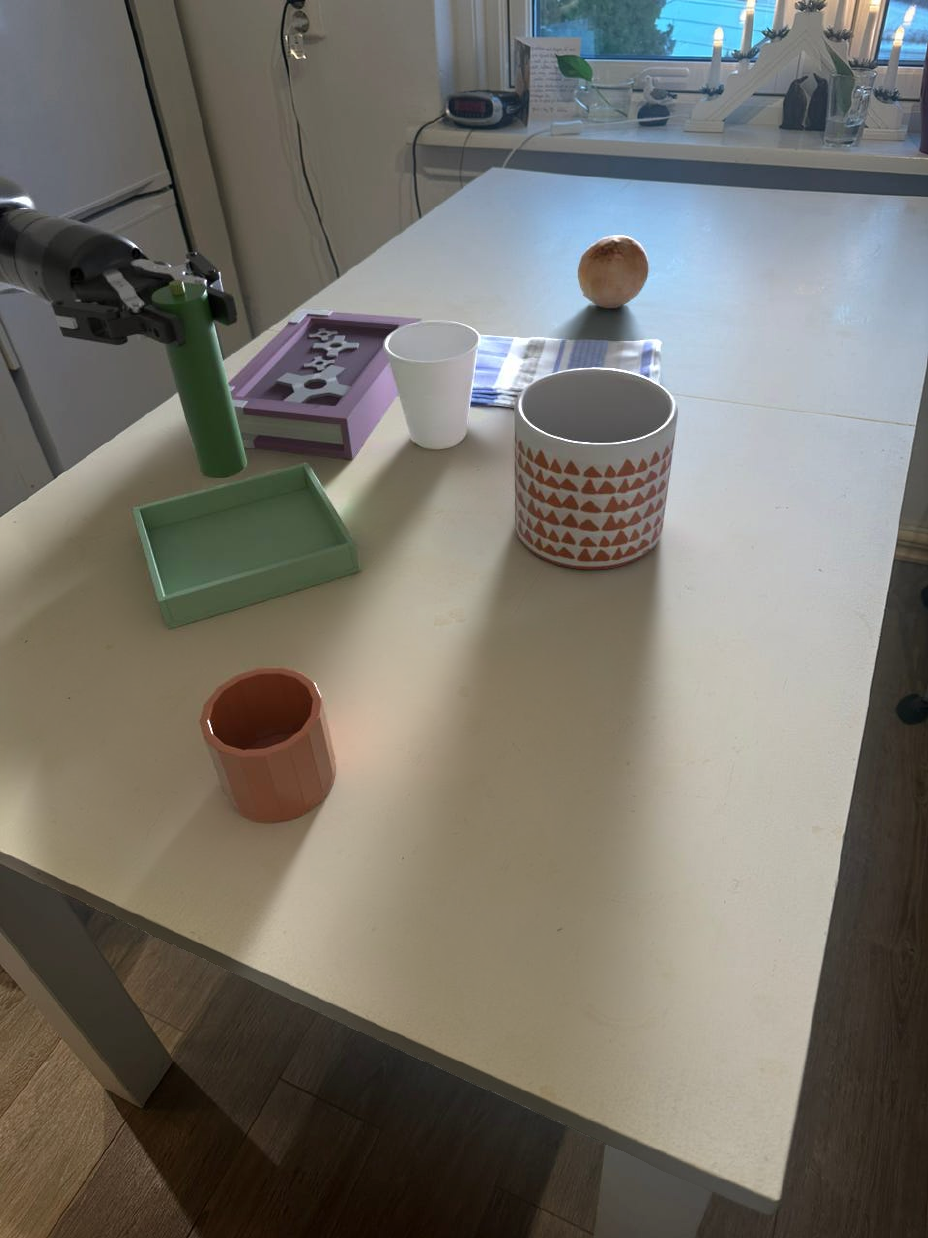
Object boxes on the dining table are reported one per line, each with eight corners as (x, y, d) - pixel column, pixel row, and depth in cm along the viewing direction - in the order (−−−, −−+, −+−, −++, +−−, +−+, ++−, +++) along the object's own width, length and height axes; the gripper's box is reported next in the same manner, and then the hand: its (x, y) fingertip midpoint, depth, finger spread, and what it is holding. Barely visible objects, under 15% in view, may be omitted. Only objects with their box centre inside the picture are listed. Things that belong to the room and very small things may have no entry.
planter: (554, 589, 75) (558, 461, 67) (492, 506, 85) (488, 386, 77) (690, 548, 79) (711, 422, 70) (616, 473, 88) (626, 354, 80)
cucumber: (205, 483, 73) (152, 297, 63) (196, 460, 76) (144, 278, 65) (251, 471, 74) (208, 286, 64) (241, 449, 77) (197, 268, 66)
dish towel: (658, 423, 95) (661, 400, 94) (449, 409, 100) (447, 387, 98) (665, 354, 108) (668, 332, 106) (479, 344, 112) (478, 323, 110)
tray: (168, 629, 74) (158, 602, 72) (141, 534, 84) (131, 507, 82) (360, 571, 78) (356, 544, 76) (312, 488, 89) (307, 462, 87)
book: (307, 345, 114) (301, 308, 111) (425, 355, 111) (422, 317, 107) (216, 444, 96) (205, 403, 93) (352, 460, 93) (346, 418, 89)
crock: (238, 840, 58) (214, 773, 53) (214, 756, 63) (190, 689, 58) (350, 797, 60) (336, 730, 55) (317, 720, 65) (302, 653, 61)
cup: (467, 466, 91) (462, 367, 83) (379, 453, 93) (367, 356, 86) (495, 419, 98) (493, 324, 90) (412, 409, 100) (404, 316, 93)
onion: (603, 335, 120) (593, 281, 111) (571, 294, 124) (559, 239, 115) (664, 300, 119) (659, 243, 111) (630, 260, 124) (622, 203, 115)
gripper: (-16, 251, 67) (106, 303, 58) (142, 201, 75) (271, 241, 66) (21, 344, 72) (138, 405, 63) (166, 289, 80) (288, 336, 71)
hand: (205, 321), depth 65 cm, fingers closed on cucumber, 4 cm apart
